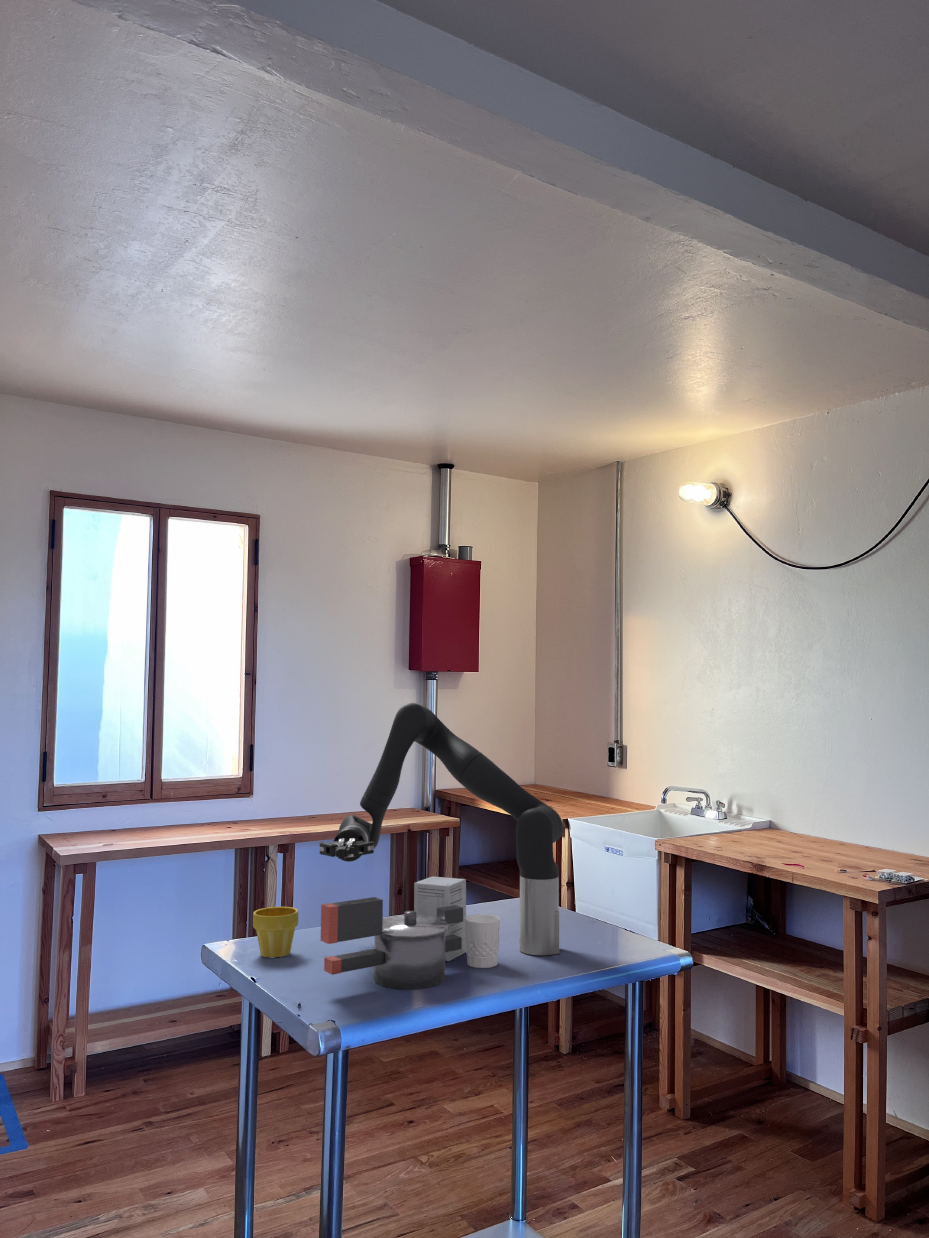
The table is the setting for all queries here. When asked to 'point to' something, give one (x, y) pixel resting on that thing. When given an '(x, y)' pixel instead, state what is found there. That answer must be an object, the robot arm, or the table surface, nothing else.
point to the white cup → (482, 940)
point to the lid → (380, 921)
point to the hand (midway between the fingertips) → (341, 853)
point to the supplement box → (442, 904)
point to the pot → (400, 961)
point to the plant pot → (275, 930)
